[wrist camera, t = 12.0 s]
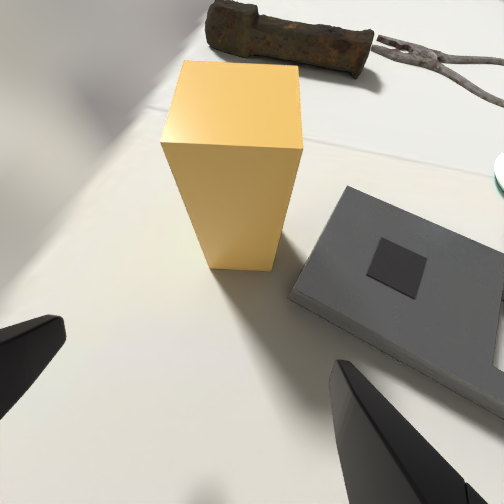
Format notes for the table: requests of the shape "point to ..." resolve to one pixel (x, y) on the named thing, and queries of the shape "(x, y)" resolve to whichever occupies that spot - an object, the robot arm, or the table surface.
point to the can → (500, 170)
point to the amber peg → (235, 156)
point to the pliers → (436, 63)
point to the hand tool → (285, 38)
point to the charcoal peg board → (410, 293)
